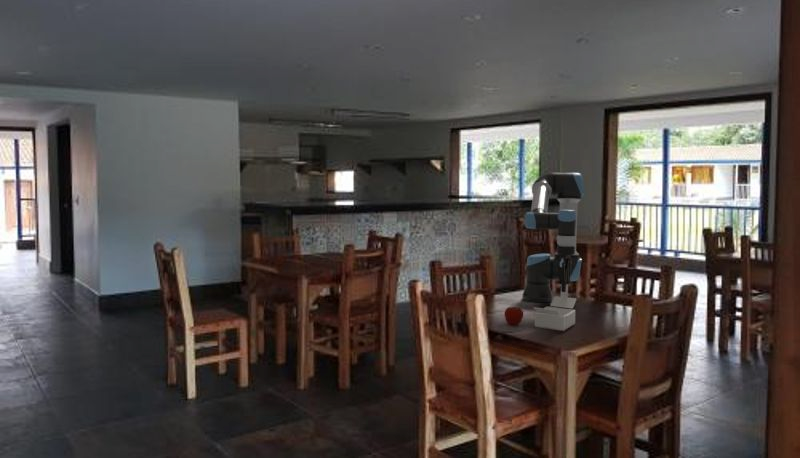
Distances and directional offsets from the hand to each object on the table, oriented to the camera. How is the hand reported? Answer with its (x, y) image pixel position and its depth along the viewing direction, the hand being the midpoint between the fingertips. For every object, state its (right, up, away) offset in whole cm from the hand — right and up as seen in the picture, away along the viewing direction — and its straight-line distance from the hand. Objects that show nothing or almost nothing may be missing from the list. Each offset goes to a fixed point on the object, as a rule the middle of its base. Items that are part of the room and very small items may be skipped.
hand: (564, 298), depth 276 cm
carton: (-6, -10, -9) cm, 15 cm away
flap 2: (0, -1, -1) cm, 1 cm away
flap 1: (-12, -3, -18) cm, 22 cm away
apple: (-23, -10, -8) cm, 27 cm away
